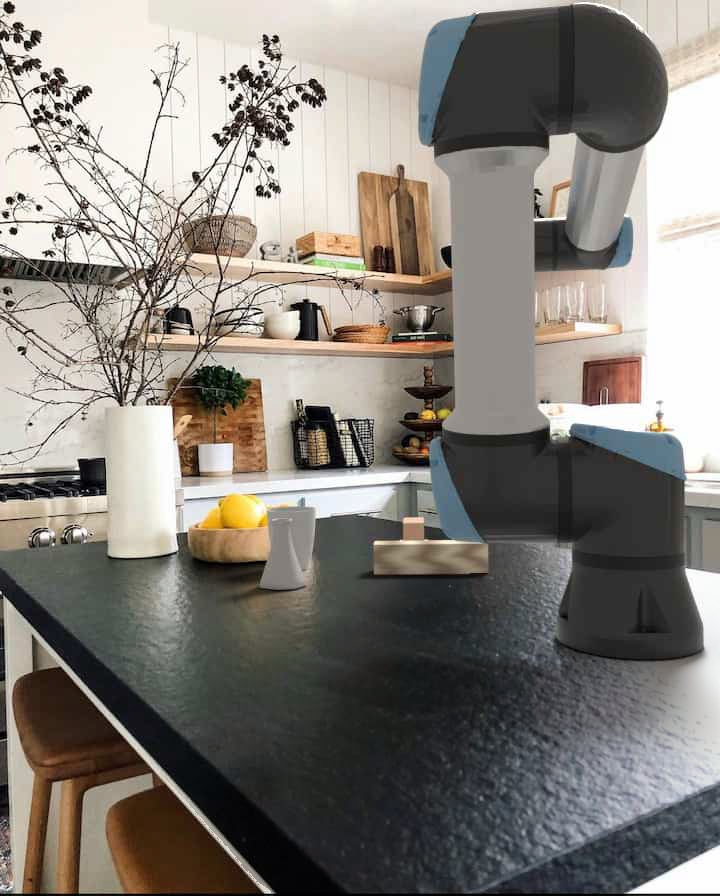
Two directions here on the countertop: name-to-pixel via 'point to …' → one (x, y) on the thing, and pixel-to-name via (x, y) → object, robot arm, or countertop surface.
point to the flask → (282, 560)
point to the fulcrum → (413, 529)
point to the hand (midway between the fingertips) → (503, 455)
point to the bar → (430, 557)
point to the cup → (297, 530)
